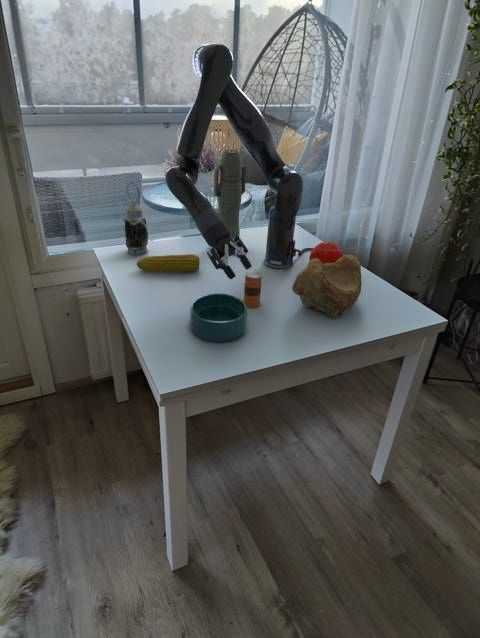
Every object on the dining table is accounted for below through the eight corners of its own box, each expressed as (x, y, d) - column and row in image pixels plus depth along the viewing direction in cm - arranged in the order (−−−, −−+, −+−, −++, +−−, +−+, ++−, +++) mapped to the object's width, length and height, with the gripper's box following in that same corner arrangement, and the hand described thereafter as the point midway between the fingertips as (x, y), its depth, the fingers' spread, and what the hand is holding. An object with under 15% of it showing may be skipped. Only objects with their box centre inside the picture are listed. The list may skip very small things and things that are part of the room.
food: (199, 267, 154) (199, 251, 151) (200, 274, 149) (200, 258, 146) (137, 267, 151) (136, 251, 148) (136, 275, 146) (135, 258, 143)
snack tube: (256, 298, 137) (259, 269, 132) (261, 306, 133) (264, 277, 128) (241, 300, 136) (243, 270, 131) (245, 308, 132) (248, 278, 127)
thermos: (246, 247, 171) (252, 152, 152) (220, 253, 165) (224, 155, 147) (233, 239, 177) (238, 147, 159) (208, 244, 171) (210, 149, 153)
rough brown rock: (316, 332, 124) (329, 287, 116) (282, 301, 135) (291, 258, 126) (374, 315, 136) (390, 272, 127) (338, 288, 146) (350, 247, 138)
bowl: (237, 310, 130) (238, 291, 127) (252, 339, 118) (254, 319, 115) (186, 316, 126) (186, 296, 123) (196, 346, 114) (196, 325, 111)
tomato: (307, 262, 163) (310, 238, 158) (340, 265, 162) (344, 241, 157) (308, 274, 154) (311, 250, 149) (343, 278, 153) (347, 253, 148)
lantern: (121, 250, 162) (115, 181, 149) (139, 245, 167) (135, 178, 154) (135, 258, 157) (130, 187, 144) (154, 252, 162) (150, 183, 149)
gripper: (204, 226, 123) (235, 275, 124) (233, 214, 133) (262, 259, 134) (189, 239, 128) (219, 286, 129) (218, 227, 138) (246, 270, 139)
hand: (241, 273), depth 132 cm, fingers open, 8 cm apart
